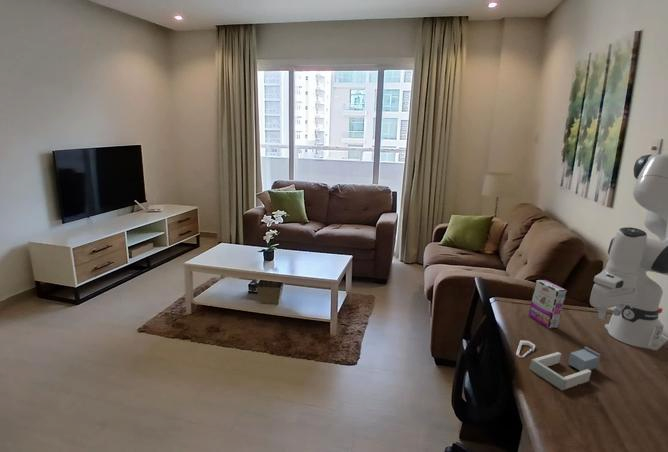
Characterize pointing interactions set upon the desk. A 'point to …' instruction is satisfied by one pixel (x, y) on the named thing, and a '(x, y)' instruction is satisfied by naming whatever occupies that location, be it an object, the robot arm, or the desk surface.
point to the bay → (554, 378)
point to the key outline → (524, 344)
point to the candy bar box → (547, 303)
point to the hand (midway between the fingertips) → (608, 316)
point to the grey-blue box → (584, 359)
